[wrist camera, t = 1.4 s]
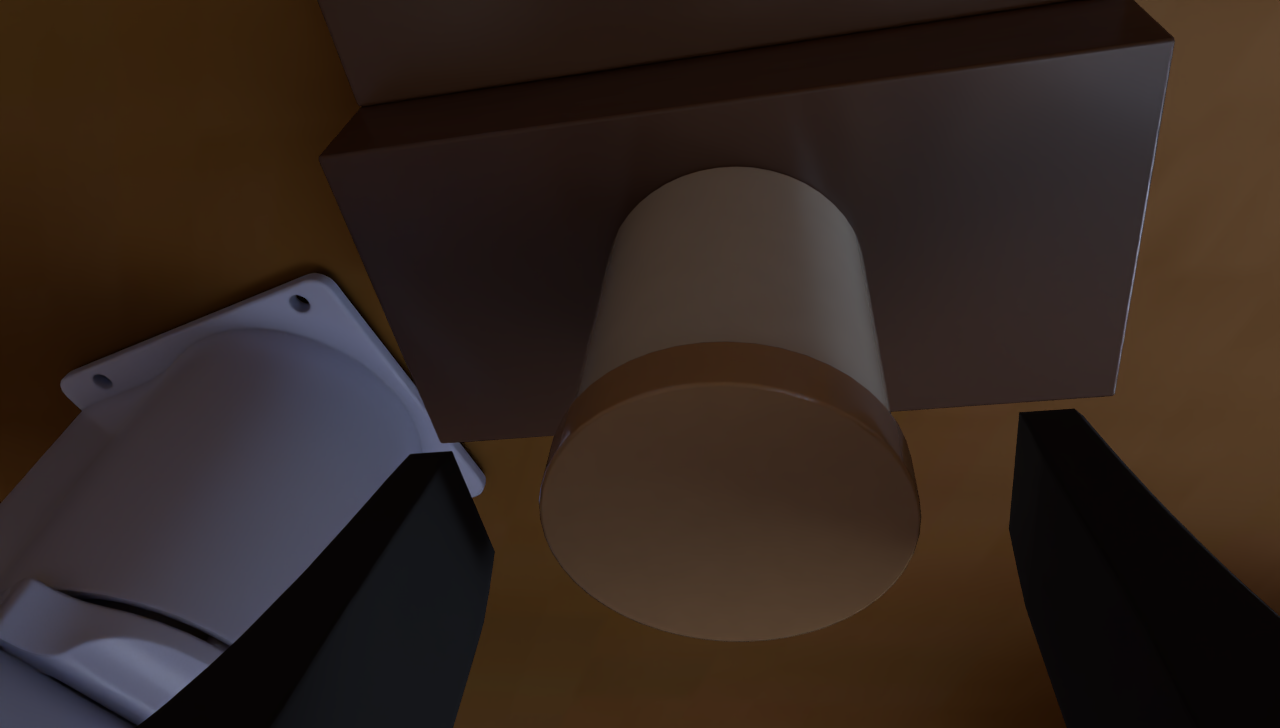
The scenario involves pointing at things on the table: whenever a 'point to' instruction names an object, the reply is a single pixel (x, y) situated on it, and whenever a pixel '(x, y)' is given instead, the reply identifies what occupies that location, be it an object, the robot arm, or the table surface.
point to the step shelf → (761, 138)
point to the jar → (732, 420)
